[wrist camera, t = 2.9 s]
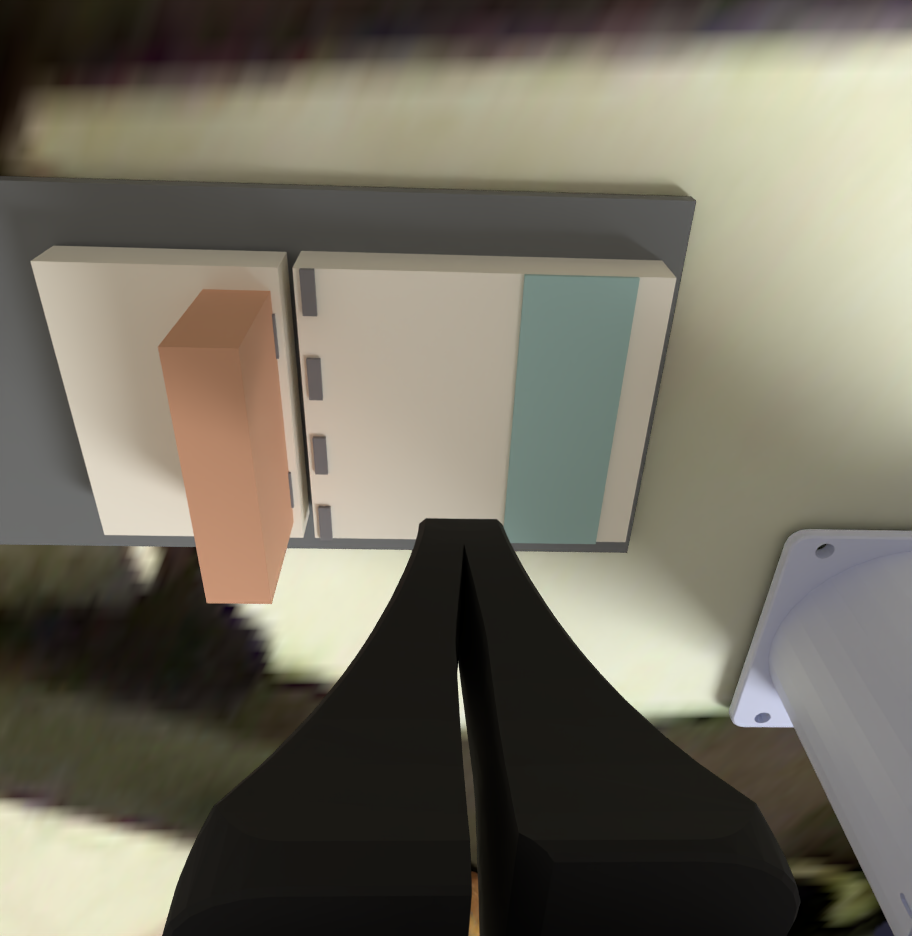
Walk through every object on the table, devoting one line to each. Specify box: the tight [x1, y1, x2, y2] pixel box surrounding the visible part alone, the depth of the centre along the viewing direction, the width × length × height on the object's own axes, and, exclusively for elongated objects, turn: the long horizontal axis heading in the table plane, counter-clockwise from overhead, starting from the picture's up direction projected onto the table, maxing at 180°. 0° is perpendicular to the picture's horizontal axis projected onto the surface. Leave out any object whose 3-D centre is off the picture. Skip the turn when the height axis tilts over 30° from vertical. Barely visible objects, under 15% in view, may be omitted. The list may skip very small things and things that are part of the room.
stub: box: [30, 246, 309, 604], centre depth 17 cm, size 5×7×4 cm
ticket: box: [292, 251, 676, 544], centre depth 18 cm, size 8×7×1 cm
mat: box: [0, 176, 696, 553], centre depth 19 cm, size 18×10×1 cm, turn 88°
